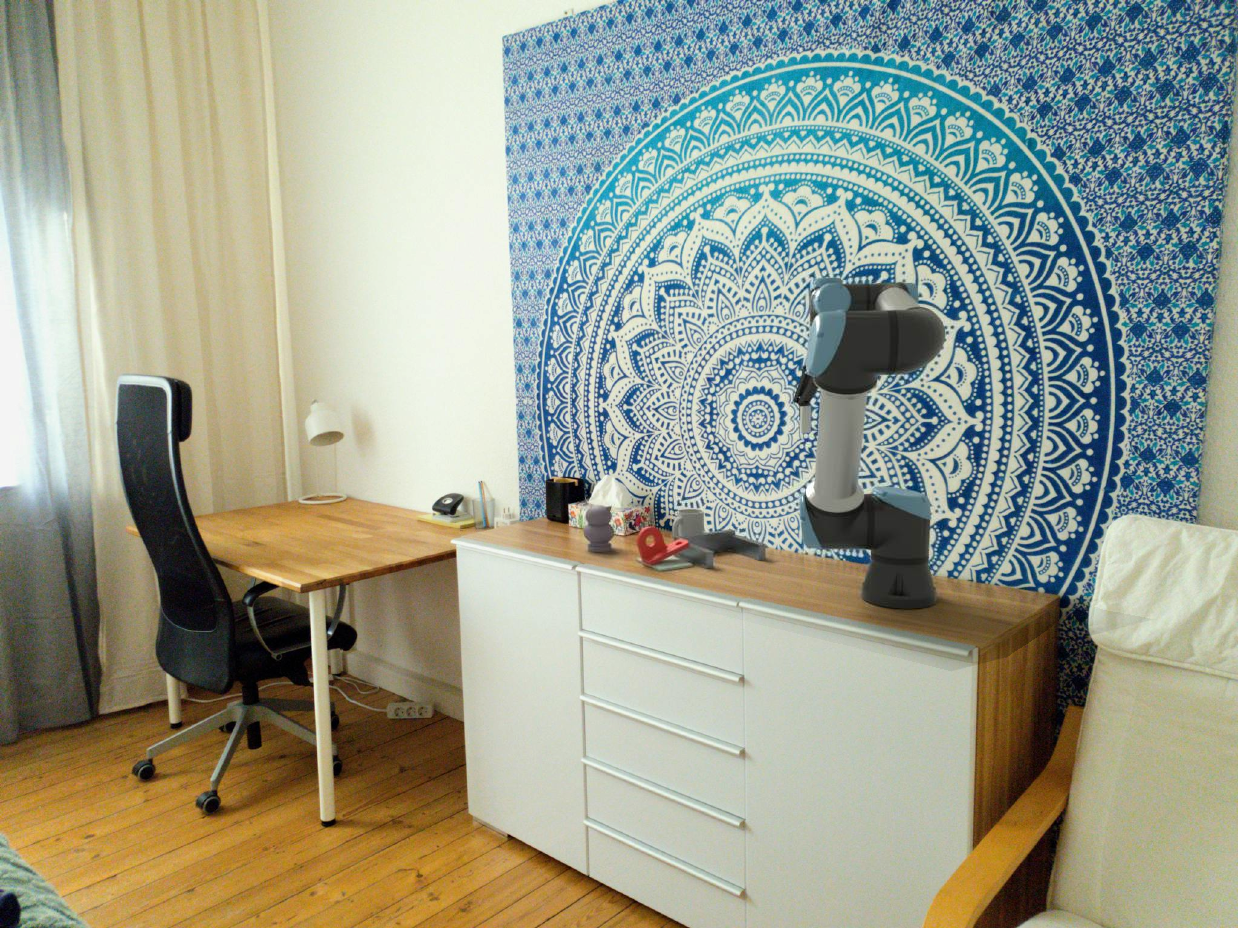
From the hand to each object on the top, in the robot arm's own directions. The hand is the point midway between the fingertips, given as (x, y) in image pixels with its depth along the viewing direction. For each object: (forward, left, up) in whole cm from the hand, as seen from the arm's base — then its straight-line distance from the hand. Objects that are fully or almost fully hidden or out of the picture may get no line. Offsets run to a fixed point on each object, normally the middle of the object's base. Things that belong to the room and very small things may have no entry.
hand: (823, 435), depth 209 cm
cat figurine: (+43, +39, -32) cm, 66 cm away
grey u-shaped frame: (+21, +17, -32) cm, 42 cm away
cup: (+36, +16, -32) cm, 51 cm away
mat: (+21, +32, -32) cm, 50 cm away
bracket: (+21, +31, -30) cm, 48 cm away
